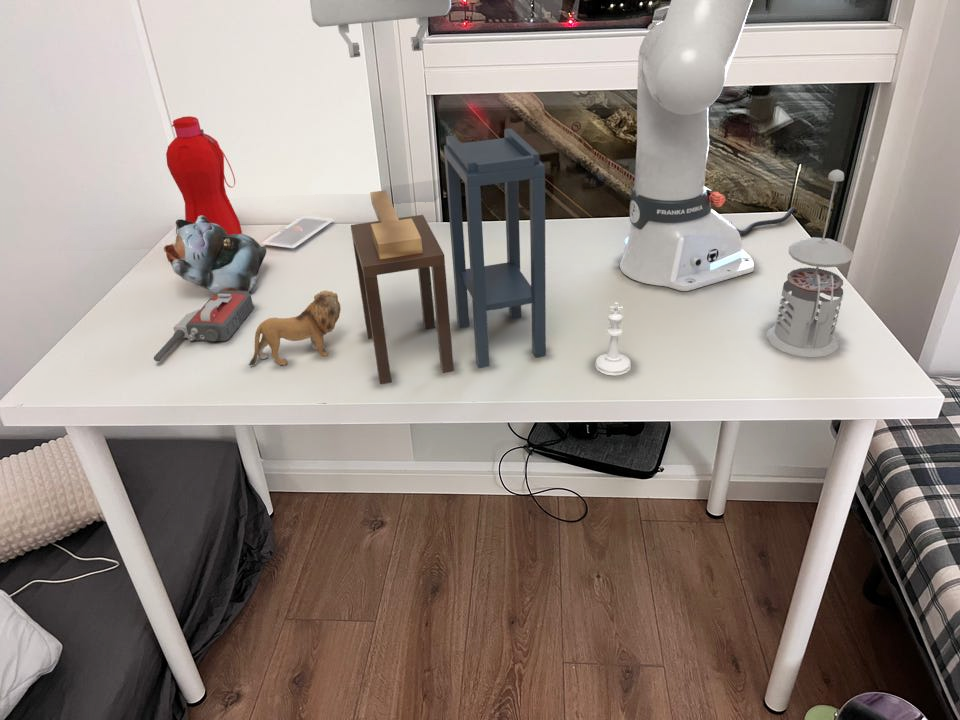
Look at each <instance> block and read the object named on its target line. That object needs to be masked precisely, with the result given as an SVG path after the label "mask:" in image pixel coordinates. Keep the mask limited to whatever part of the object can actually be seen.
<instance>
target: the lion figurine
mask: <svg viewBox="0 0 960 720" xmlns="http://www.w3.org/2000/svg"><path fill="white" fill-rule="evenodd" d="M338 297H339V296H338V293H336V292H333V291H330V290H322V291H320V292H318V293H316V294H315V295H314V296H313V299H314V300H313V301H312V302H310V304H309V305H307V307H306V308H305V309H304V310H303V311H302V312H301V313H300V314H299V315H296V316H292V317H287V318H281V317H269V318H267V319H265V320H263V321H262V322H261V323H259V325H258V326H257V328H256V330H255V334H254V354H253V357H252V359H251V360H250V361H249V363H248V366H253V365H255V363H256V362H257V360H258V358H259V359H261V360H264V359H265V360H266V359H267V358H268V357H269V354H268V353H267V352H264V350H265V348H266V347H267V346H269V348H270V351H271V353H270V356H271V357H272V358H273V360H275V362H276V363H277V364H278V365H280V366H287V365H288V360H287V359H286V358H282V357H280V354H279V351H280V346H281V339H284V340H287V341H289V342H299V341H304V340H308V339H310V346H311V347H312V348H313V349H314V350H316V351H317V352H318V354H319V355H320V356H321V357H327V356H328V355H329V351H328V350H327V349H324V347H325V345H324V344H325V339H324V336H325V335H327V334H329V333H331V332H333V330H334V329H335V326H336V323H337V322H338V320H339V318H340V314H341V311H342V310H341V309H342V308H341V303H340V301H339V298H338ZM260 338H261V339H260Z"/></svg>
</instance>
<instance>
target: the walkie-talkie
mask: <svg viewBox="0 0 960 720" xmlns="http://www.w3.org/2000/svg"><path fill="white" fill-rule="evenodd" d="M253 309H254V303H253V299H252V295H251V294H250V291H248V292H247V291H226V290H222V291H219V292H218V293H216V294H215V293H214V294H213V295H212V296H210V298H209V299H208V301H206V303H205V304H204V305H203V306H202V307H201V308H200V309H197V310H194V311H191V312H188V313H187V314H185V315H184V316H183V317H182V319H181V320H180V321H179V322H178V323H176V324H175V325H174V326H173V327H172V328H173V332H174V333H173V335H172V336H171V337H170V339H169V340H168V341H167V342H166V343H165V344H164V345H163V346H162V347H161V349H159V350H158V352H157V353H156V354H155V355H154V356H153V360H154V361H155V362H161V361H162V360H163V358H164V357H166V355H167V354H168V353H169V352H170V350H172V348H173V347H175V345H176V344H177V343H178V342H179V341H181V340H182V339H187V340H189V341H190V342H191V341H198V342H227V341H228V340H230V338H231V337H232V336H233V334H234V333H235V332H236V331H237V329H239V327H240V325H242V323H243V322H244V320H245V319H246V318H247V317H248V316H249V314H250V313H251V312H252V311H253Z"/></svg>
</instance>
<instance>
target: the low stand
mask: <svg viewBox="0 0 960 720" xmlns="http://www.w3.org/2000/svg"><path fill="white" fill-rule="evenodd" d="M398 218H399V220H403V219H410V218H412V220H413V222H414V224H415V226H416V228H417V230H418V232H419V234H420V236H421V240H422V250H423V253H420V254H414V255H407V256H400V257H394V258H387V259H380V258H379V255H378V253H377V250H376V247H375V244H374V241H373V237H372V230H371V224H375V223H379V221H378V220H377V221H370V222H363V223H355V224H351V225H350V231H351V237H352V238H351V239H352V244H353V250H354V257H355V264H356V265H355V266H356V270H357V277H358V285H359V290H360V291H359V292H360V297H361V303H362V310H363V317H364V323H365V331H366V335H367V336H366V337H367V339H368V340H371V339H372V342H373V350H374V356H375V363H376V369H377V377H378V381H379V384H380V385H383V384H390V383H392V376H391V369H390V368H391V367H390V362H389V361H390V360H389V354H388V353H389V352H388V347H387V346H388V345H387V339H386V332H385V324H384V317H383V316H384V315H383V310H382V309H383V308H382V302H381V296H380V295H381V293H380V287H379V280H378V276H381V275H387V274H393V273H400V272H406V271H411V270H412V271H413V270H417V275H418V283H419V284H418V285H419V293H420V304H421V312H422V322H423V327H424V329H425V330H429V329H434V328H436V331H437V332H436V333H437V334H436V335H437V343H438V354H439V365H440V369H441V372H442V374H443V373H450V372H454V370H455V367H454V356H453V344H452V343H453V342H452V333H451V320H450V307H449V295H448V283H447V272H446V271H447V270H446V259H445V252H444V251H443V250H442V248H441V247H442V246H441V245H440V244H439V242H438V240H437V238H436V237H435V234H434V233H433V230H432V228H431V227H430V225H429V223H428V221H427V220H426V217H425V215H424V214H418V215H411V216H405V217H404V216H403V217H398Z"/></svg>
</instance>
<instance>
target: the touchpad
mask: <svg viewBox="0 0 960 720" xmlns="http://www.w3.org/2000/svg"><path fill="white" fill-rule="evenodd" d="M335 220H336V218H331V217H322V216H313V215H306V214H303V215H301V216H300V217H298V218H297V219H295V220H294V221H292V222H291V223H289V224H287V225H286V226H284V227H283V228H281V229H280V230H278V231H277V232H275V233H273V234H272V235H270V236H269V237H268V238H266V239H265V240H263V241H262V242H260V243H259V244H260V245H266V246H274V247H280V248H281V247H282V248H287V249H295V248H297V247H298V246H299V245H301V244H302V243H303V242H305V241H307V240H309V238H311V237H312V236H313V235H315V234H317V233H318V232H319V231H321V230H322V229H324V228H325V227H327V226H328V225H329V224H331V223H332V222H334V221H335Z"/></svg>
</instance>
